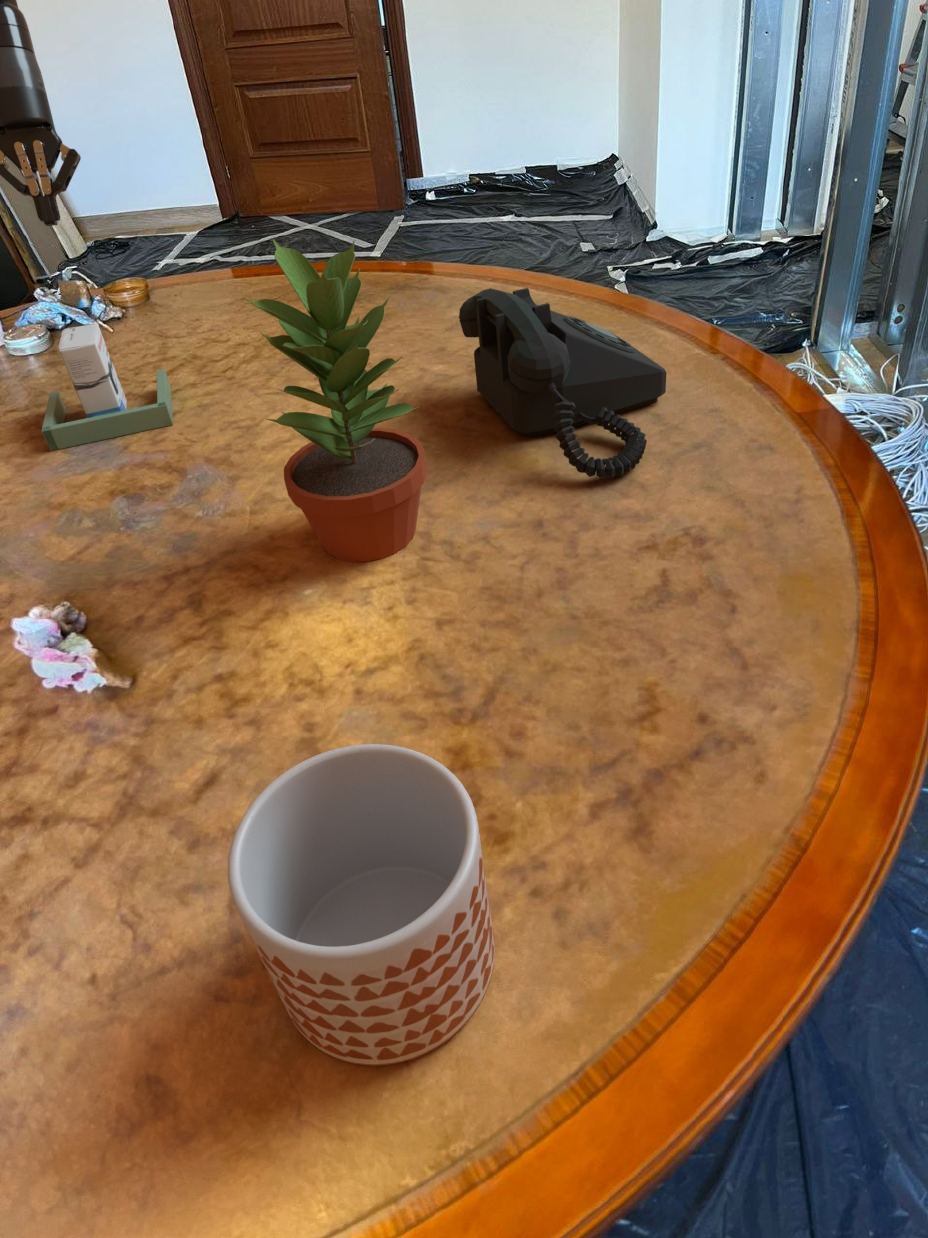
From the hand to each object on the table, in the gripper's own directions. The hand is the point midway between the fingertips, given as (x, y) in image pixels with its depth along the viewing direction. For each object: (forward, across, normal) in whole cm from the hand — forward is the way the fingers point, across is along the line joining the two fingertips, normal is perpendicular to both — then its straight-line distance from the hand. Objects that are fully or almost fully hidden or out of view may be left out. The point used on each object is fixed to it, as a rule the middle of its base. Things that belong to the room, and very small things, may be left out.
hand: (51, 224), depth 126 cm
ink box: (+28, -4, +14) cm, 31 cm away
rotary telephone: (+35, -65, +41) cm, 84 cm away
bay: (+28, -5, +14) cm, 32 cm away
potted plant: (+43, -35, +56) cm, 78 cm away
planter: (+62, -28, +100) cm, 121 cm away
